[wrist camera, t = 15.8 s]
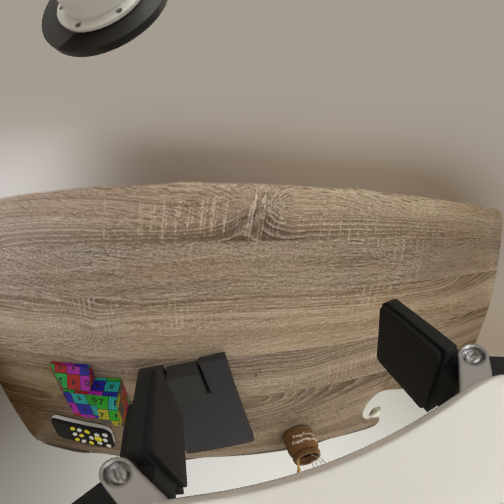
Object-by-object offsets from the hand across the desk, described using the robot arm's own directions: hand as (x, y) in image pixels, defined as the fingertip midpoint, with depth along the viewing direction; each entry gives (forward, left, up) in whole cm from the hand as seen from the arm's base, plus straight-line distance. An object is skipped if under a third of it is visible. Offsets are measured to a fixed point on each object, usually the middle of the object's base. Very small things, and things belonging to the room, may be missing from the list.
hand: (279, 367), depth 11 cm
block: (+4, -32, -24) cm, 40 cm away
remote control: (+10, -45, -24) cm, 52 cm away
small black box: (+13, -18, -24) cm, 33 cm away
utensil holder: (+40, -16, -24) cm, 50 cm away
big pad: (+20, -22, -24) cm, 38 cm away
